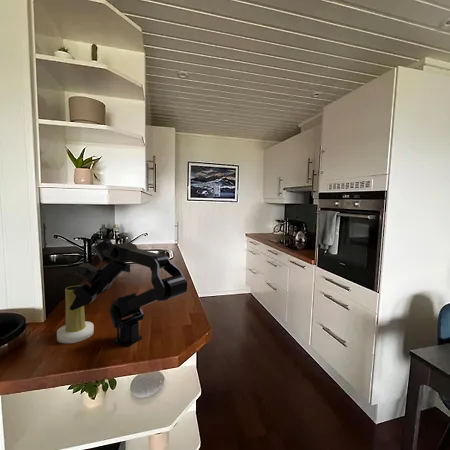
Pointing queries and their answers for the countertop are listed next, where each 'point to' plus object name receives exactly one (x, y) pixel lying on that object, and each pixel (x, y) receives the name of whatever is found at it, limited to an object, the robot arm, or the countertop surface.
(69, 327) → the vase
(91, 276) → the robot arm
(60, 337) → the plinth
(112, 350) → the countertop surface
